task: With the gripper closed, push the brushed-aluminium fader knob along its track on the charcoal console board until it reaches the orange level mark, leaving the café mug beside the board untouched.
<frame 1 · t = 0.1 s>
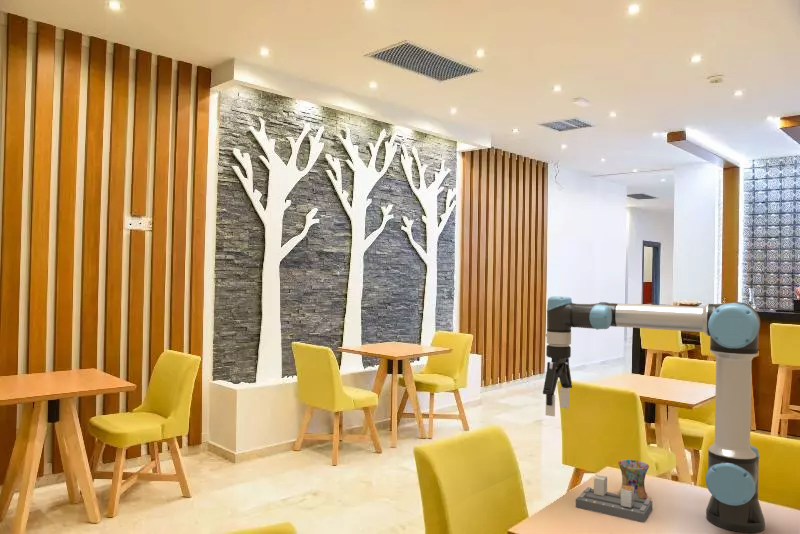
hand: (557, 411, 195), 28 cm above the table, fingers open, 13 cm apart
fader: (627, 495, 184), point 6 cm above the table, slide at 2.0 cm
mug: (631, 495, 200), on the table
console: (613, 508, 188), on the table
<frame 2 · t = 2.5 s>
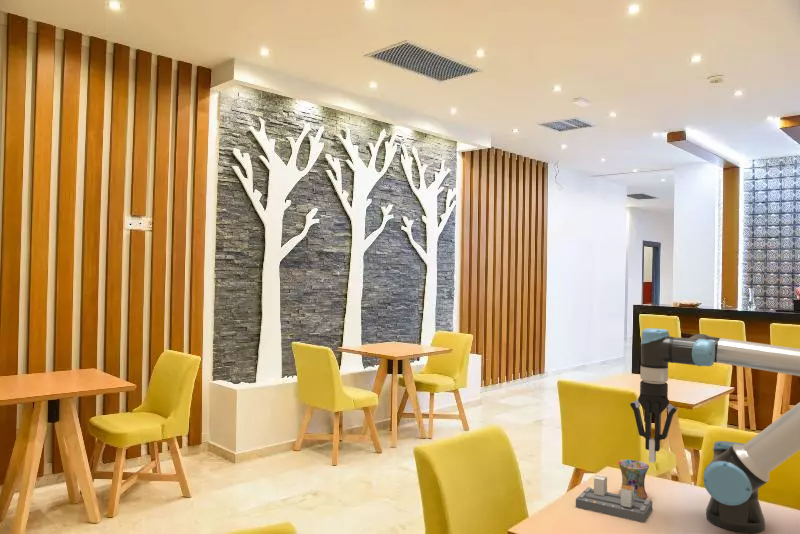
hand: (652, 461, 180), 17 cm above the table, fingers closed
nothing on the table moved.
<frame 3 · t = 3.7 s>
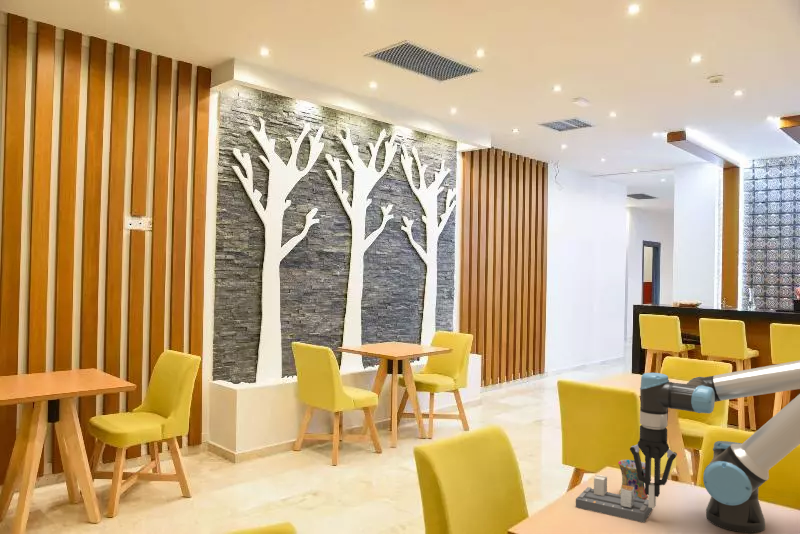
hand: (652, 506, 180), 4 cm above the table, fingers closed
nothing on the table moved.
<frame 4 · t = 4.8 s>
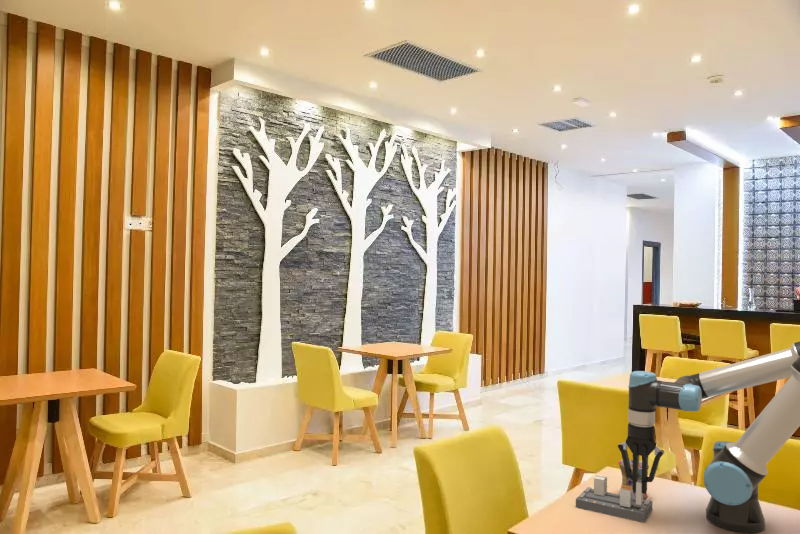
hand: (639, 503, 182), 4 cm above the table, fingers closed
fader: (626, 495, 184), point 6 cm above the table, slide at 2.3 cm, touching gripper
everything else where it was.
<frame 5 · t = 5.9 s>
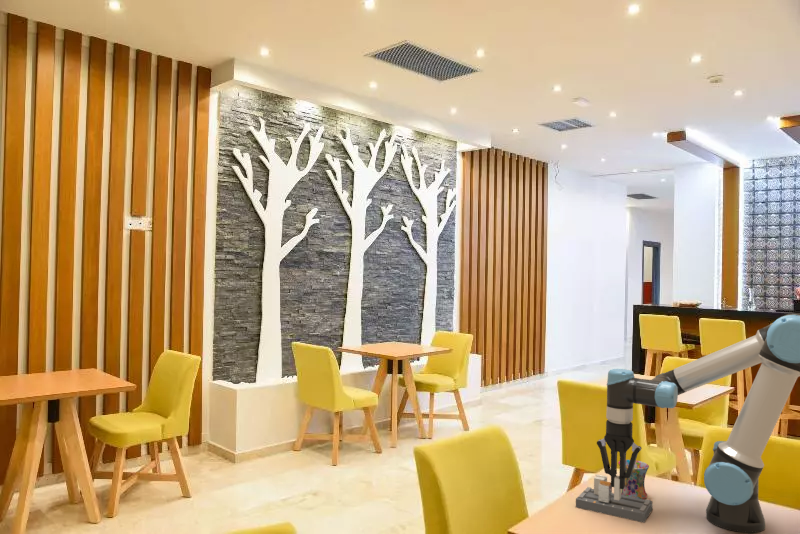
hand: (617, 498, 185), 4 cm above the table, fingers closed
fader: (605, 490, 187), point 6 cm above the table, slide at 8.6 cm, touching gripper
everything else where it was.
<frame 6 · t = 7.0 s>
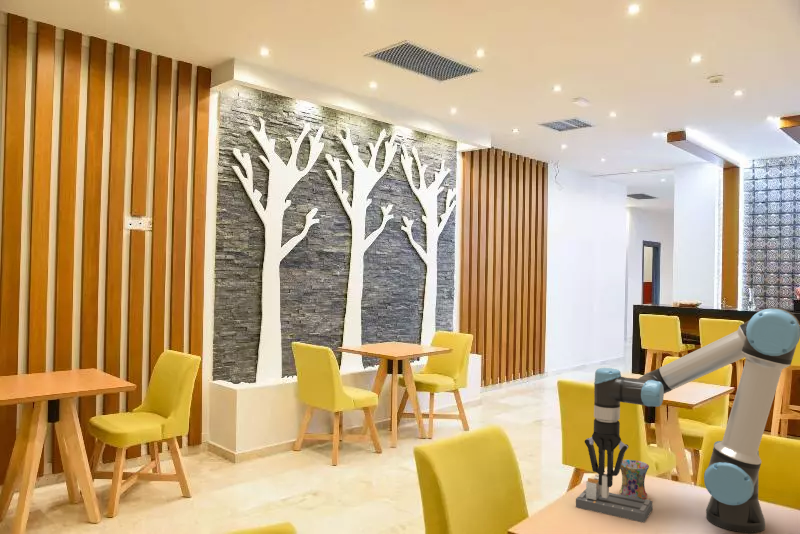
hand: (605, 496, 187), 4 cm above the table, fingers closed
fader: (592, 488, 189), point 6 cm above the table, slide at 12.3 cm, touching gripper
everything else where it was.
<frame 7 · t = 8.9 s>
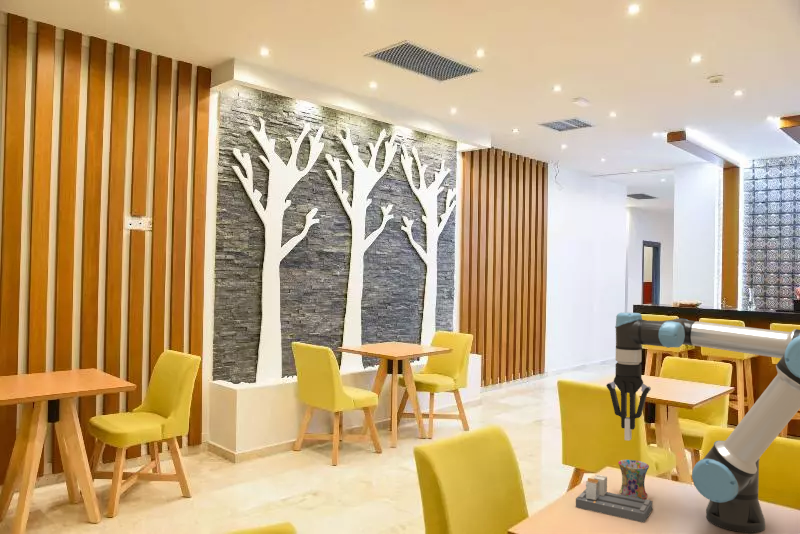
hand: (628, 439, 188), 21 cm above the table, fingers closed
fader: (592, 488, 189), point 6 cm above the table, slide at 12.3 cm
everything else where it was.
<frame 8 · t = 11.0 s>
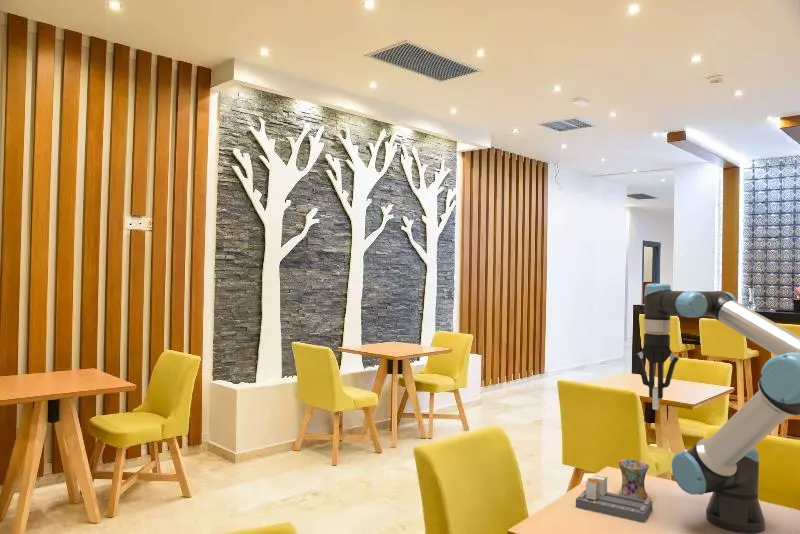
hand: (655, 408, 190), 30 cm above the table, fingers closed
nothing on the table moved.
at the end: fader slide at 12.3 cm; mug moved 0.2 cm from its start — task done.
